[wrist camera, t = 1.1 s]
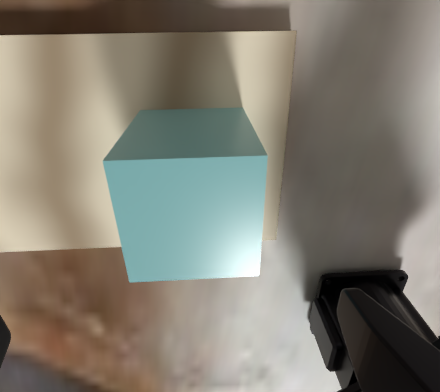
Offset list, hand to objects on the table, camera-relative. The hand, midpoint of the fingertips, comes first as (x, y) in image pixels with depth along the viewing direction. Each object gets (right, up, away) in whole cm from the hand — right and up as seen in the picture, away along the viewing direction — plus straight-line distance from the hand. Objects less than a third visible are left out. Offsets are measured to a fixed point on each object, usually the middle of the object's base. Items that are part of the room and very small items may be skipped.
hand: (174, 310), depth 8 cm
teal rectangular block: (0, +5, +9) cm, 10 cm away
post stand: (-7, +5, +9) cm, 13 cm away
